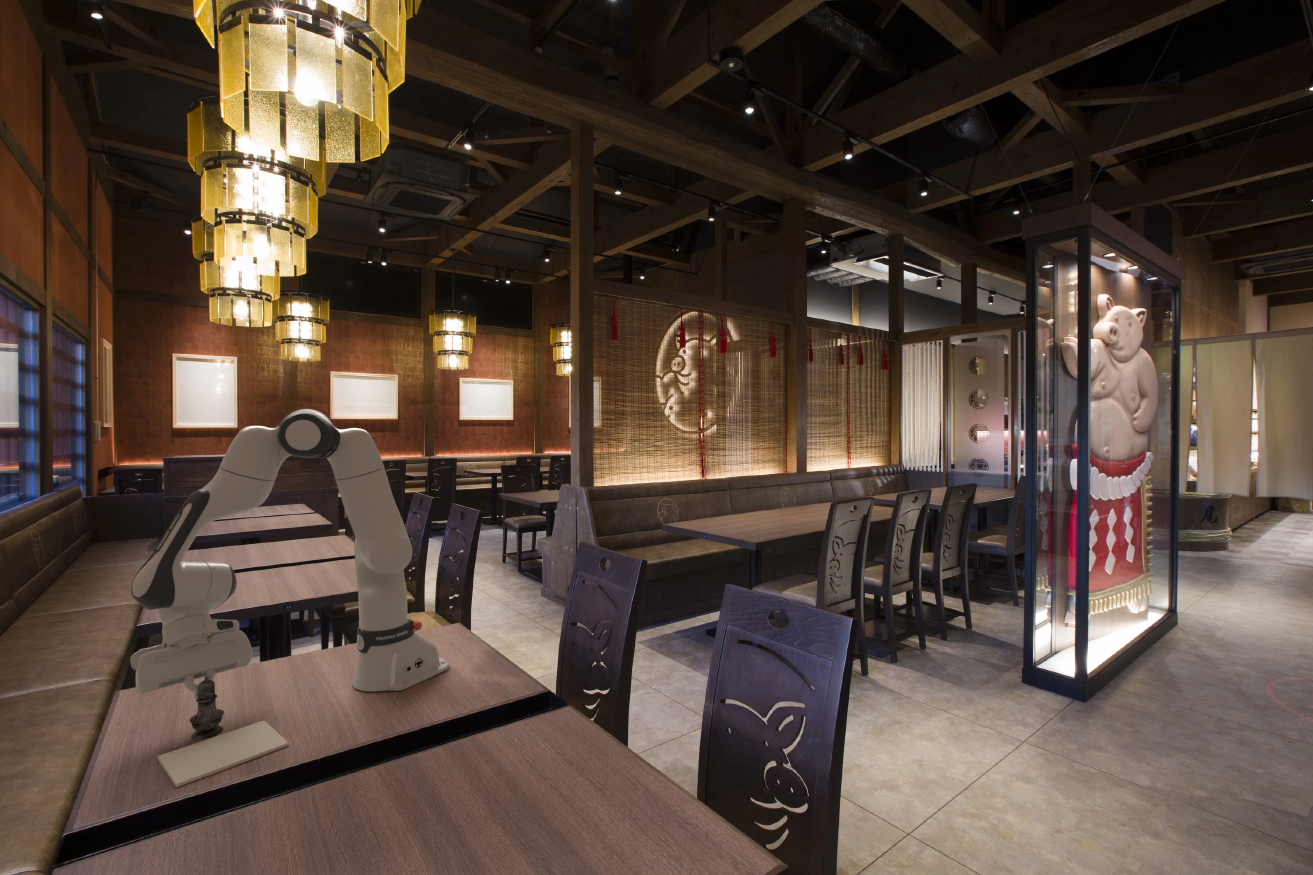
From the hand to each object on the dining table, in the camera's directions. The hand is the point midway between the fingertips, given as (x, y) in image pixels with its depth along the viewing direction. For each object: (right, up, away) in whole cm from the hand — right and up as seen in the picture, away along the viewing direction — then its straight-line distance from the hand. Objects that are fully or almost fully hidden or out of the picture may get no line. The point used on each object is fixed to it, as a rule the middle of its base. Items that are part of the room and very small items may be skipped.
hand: (203, 694), depth 128 cm
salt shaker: (+2, -8, -1) cm, 8 cm away
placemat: (+11, -8, -9) cm, 16 cm away
